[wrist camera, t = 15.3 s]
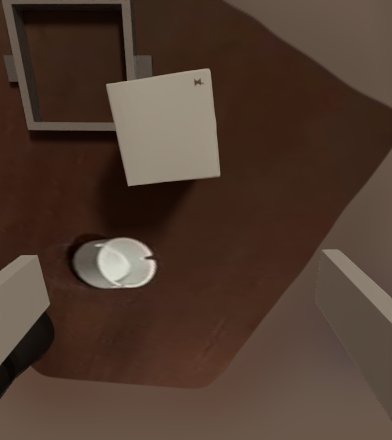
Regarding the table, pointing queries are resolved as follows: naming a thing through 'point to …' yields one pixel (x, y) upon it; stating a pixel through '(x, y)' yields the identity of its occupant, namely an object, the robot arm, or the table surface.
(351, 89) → the table surface
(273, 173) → the table surface
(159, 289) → the table surface
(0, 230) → the table surface
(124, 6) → the grey frame with tab
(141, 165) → the supplement box
